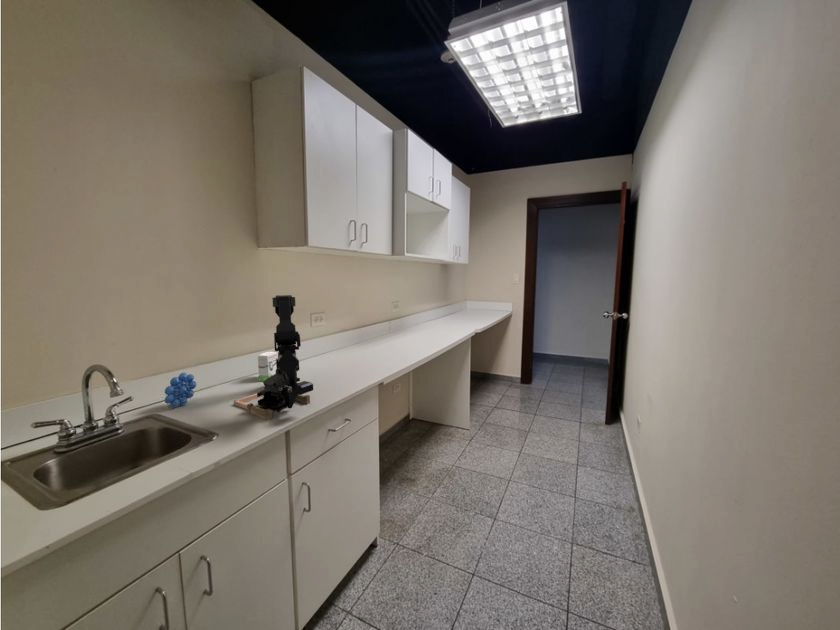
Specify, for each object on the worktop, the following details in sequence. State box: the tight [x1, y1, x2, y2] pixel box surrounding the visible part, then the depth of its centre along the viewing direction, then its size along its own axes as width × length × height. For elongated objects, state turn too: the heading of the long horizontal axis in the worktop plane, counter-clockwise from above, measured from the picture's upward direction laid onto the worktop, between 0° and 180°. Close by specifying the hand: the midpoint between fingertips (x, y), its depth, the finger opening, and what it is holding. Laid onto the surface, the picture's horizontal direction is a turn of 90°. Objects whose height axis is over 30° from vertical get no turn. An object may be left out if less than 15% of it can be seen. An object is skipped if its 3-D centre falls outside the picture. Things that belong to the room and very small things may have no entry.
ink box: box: [257, 351, 278, 382], centre depth 158 cm, size 9×5×12 cm, turn 172°
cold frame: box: [246, 394, 311, 421], centre depth 124 cm, size 17×11×3 cm, turn 148°
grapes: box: [164, 372, 197, 409], centre depth 126 cm, size 12×7×12 cm, turn 161°
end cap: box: [256, 386, 288, 412], centre depth 125 cm, size 10×7×7 cm
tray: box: [233, 393, 264, 410], centre depth 129 cm, size 14×12×2 cm
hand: (290, 408), depth 121 cm, fingers closed
